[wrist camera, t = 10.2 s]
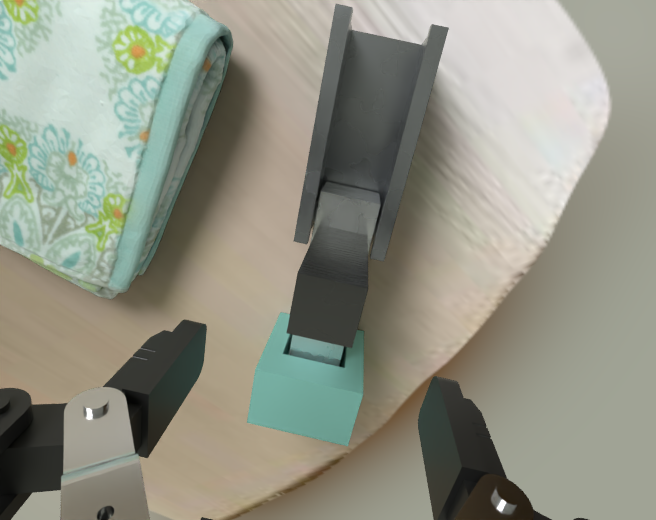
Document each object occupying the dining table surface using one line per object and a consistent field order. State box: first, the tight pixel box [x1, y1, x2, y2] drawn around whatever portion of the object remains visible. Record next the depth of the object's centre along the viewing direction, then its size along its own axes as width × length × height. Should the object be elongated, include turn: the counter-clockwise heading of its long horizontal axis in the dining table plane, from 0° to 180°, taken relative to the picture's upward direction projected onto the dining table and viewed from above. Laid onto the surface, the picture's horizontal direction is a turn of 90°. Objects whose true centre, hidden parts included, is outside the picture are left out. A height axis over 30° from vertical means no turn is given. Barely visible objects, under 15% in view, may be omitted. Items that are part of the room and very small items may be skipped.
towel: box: [0, 0, 233, 299], centre depth 25 cm, size 18×21×5 cm
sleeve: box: [294, 4, 449, 261], centre depth 23 cm, size 12×5×6 cm, turn 169°
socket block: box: [247, 313, 364, 446], centre depth 28 cm, size 4×7×8 cm, turn 79°
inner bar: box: [287, 182, 381, 367], centre depth 23 cm, size 14×4×11 cm, turn 169°
